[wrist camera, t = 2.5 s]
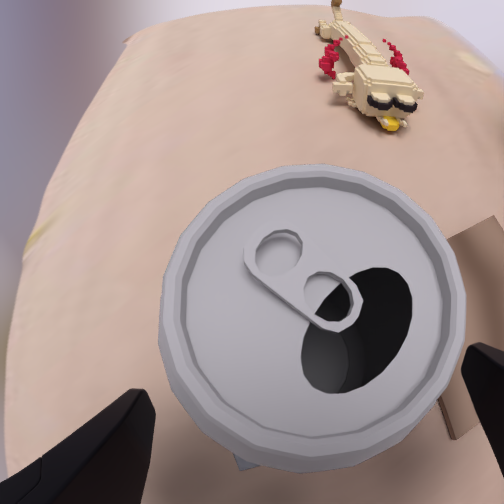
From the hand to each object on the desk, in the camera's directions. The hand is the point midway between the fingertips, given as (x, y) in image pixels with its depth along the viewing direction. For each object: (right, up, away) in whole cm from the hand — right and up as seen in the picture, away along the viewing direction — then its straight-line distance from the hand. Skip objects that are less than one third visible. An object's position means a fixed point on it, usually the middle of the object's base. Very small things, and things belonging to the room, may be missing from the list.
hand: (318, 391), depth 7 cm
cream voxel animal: (+11, +24, +22) cm, 35 cm away
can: (+1, -3, +9) cm, 9 cm away
